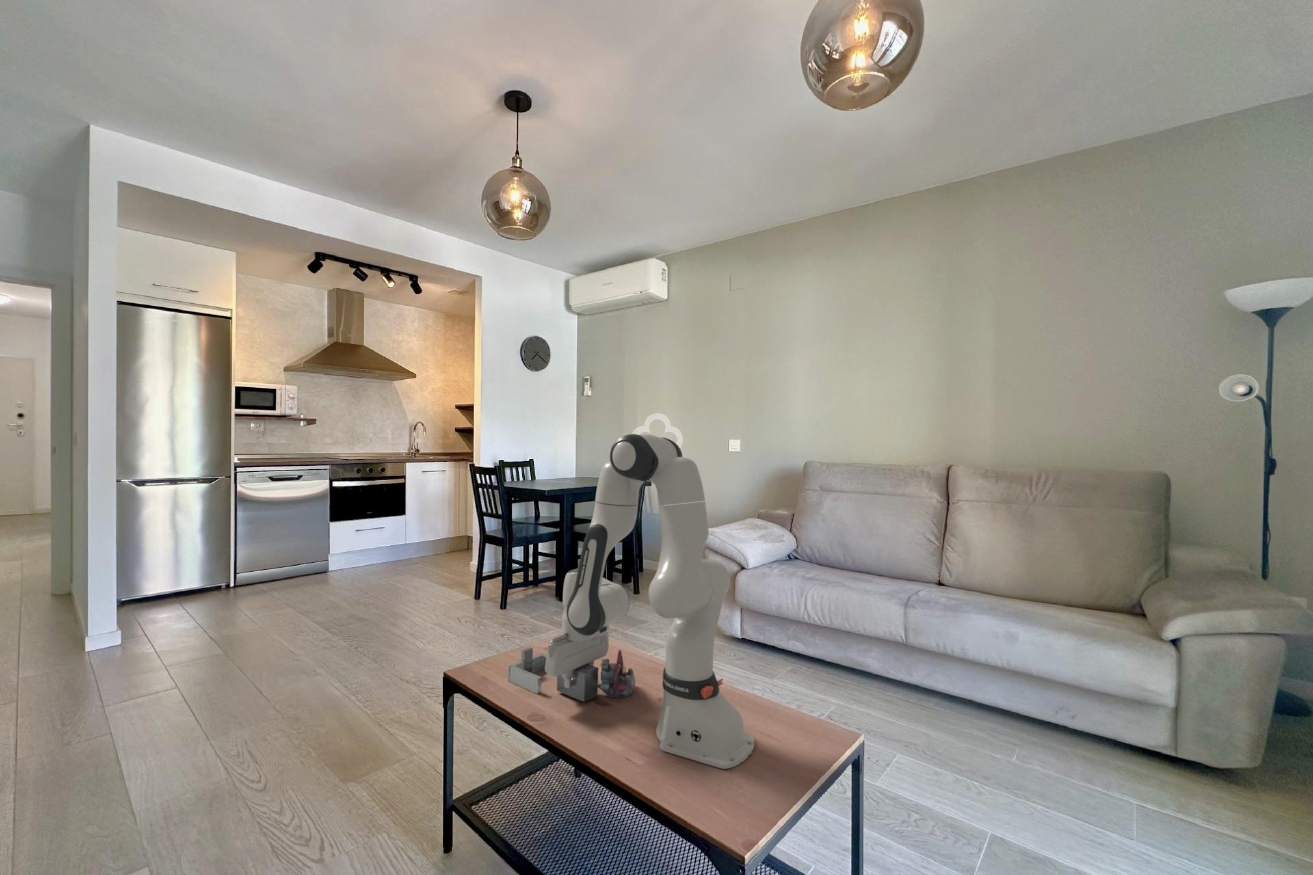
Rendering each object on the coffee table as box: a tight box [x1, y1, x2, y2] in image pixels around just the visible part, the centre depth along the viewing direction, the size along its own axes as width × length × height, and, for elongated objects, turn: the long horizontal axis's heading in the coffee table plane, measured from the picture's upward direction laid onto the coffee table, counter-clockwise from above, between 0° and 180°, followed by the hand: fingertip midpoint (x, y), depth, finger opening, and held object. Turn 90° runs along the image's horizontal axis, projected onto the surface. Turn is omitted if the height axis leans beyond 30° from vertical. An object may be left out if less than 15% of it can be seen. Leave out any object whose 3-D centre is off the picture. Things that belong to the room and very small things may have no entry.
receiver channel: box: [506, 646, 547, 695], centre depth 147 cm, size 13×12×7 cm
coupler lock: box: [556, 664, 599, 702], centre depth 138 cm, size 10×5×8 cm, turn 54°
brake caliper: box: [598, 649, 636, 698], centre depth 142 cm, size 11×11×12 cm
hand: (577, 682), depth 138 cm, fingers closed on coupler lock, 5 cm apart
